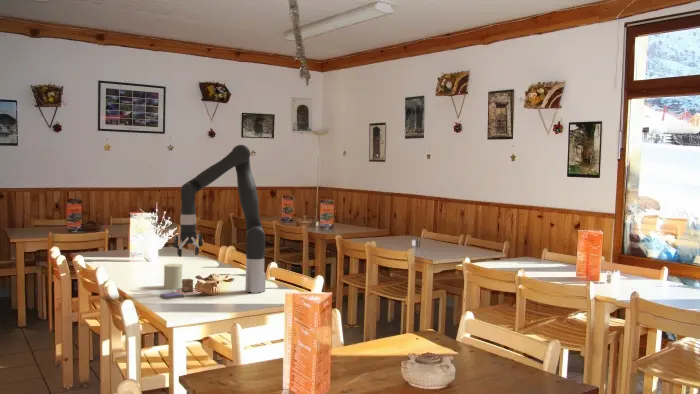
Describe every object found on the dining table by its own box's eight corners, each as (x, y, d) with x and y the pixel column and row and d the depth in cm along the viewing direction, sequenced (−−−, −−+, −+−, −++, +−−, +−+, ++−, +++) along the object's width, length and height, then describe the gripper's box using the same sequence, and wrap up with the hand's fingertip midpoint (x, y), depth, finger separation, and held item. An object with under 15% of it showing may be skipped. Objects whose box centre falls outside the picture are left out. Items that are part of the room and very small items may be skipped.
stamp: (189, 290, 309) (189, 278, 308) (193, 291, 305) (193, 279, 305) (181, 291, 306) (181, 279, 306) (184, 292, 302) (185, 280, 302)
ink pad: (178, 294, 301) (178, 291, 301) (183, 297, 295) (183, 294, 295) (160, 296, 295) (160, 293, 295) (165, 299, 290) (165, 296, 290)
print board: (193, 289, 313) (193, 288, 313) (202, 293, 305) (202, 291, 305) (172, 291, 306) (172, 290, 306) (180, 295, 298) (181, 294, 298)
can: (163, 289, 312) (163, 265, 311) (163, 285, 321) (164, 262, 320) (182, 288, 314) (182, 265, 314) (182, 285, 323) (182, 262, 322)
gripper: (177, 224, 296) (177, 258, 297) (204, 223, 305) (204, 255, 306) (171, 223, 302) (171, 256, 303) (198, 221, 311) (198, 253, 312)
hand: (188, 255), depth 304 cm, fingers open, 8 cm apart
